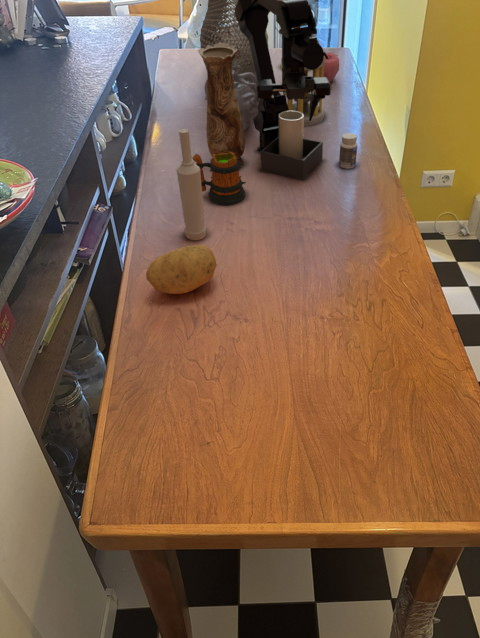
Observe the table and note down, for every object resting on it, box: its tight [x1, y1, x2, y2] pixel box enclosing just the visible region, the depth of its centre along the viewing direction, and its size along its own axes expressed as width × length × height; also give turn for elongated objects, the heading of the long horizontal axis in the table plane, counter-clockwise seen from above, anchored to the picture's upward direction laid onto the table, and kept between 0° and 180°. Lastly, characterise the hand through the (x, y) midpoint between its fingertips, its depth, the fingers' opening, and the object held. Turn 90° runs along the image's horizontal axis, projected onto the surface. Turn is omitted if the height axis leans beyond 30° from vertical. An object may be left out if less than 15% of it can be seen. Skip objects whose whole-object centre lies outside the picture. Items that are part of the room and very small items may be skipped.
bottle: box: [176, 128, 207, 241], centre depth 135 cm, size 5×5×25 cm
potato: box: [145, 244, 218, 295], centre depth 126 cm, size 10×14×10 cm
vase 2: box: [197, 43, 246, 169], centre depth 160 cm, size 10×11×30 cm
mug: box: [192, 151, 247, 206], centre depth 153 cm, size 13×10×12 cm
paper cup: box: [278, 111, 305, 160], centre depth 167 cm, size 7×7×12 cm
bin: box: [259, 136, 324, 181], centre depth 168 cm, size 13×13×6 cm
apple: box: [319, 51, 340, 82], centre depth 215 cm, size 10×9×10 cm
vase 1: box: [199, 0, 269, 94], centre depth 196 cm, size 22×22×35 cm
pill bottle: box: [338, 132, 358, 169], centre depth 167 cm, size 5×5×8 cm
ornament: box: [204, 65, 260, 131], centre depth 182 cm, size 18×20×20 cm
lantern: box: [280, 34, 325, 127], centre depth 186 cm, size 14×14×25 cm
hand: (292, 121), depth 160 cm, fingers open, 9 cm apart
